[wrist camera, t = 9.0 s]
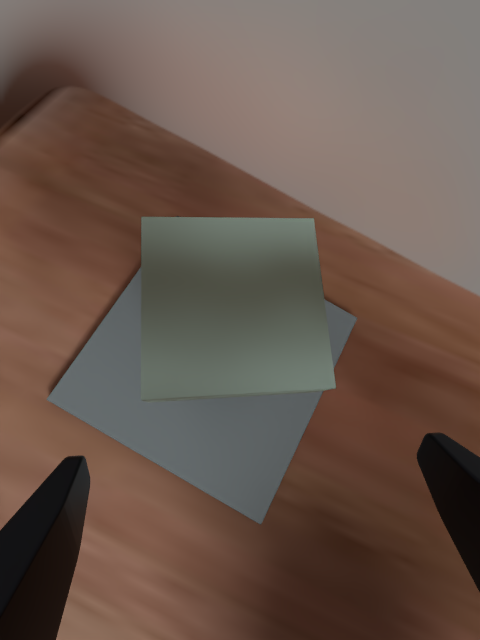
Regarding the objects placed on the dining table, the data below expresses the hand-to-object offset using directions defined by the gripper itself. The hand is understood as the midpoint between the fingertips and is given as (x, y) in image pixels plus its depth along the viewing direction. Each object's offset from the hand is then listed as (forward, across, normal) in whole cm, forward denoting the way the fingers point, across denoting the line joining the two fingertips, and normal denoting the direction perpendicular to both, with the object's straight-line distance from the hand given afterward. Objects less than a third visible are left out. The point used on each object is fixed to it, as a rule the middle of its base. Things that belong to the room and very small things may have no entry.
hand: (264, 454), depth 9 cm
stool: (+12, 0, +5) cm, 13 cm away
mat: (+12, 0, +6) cm, 14 cm away
